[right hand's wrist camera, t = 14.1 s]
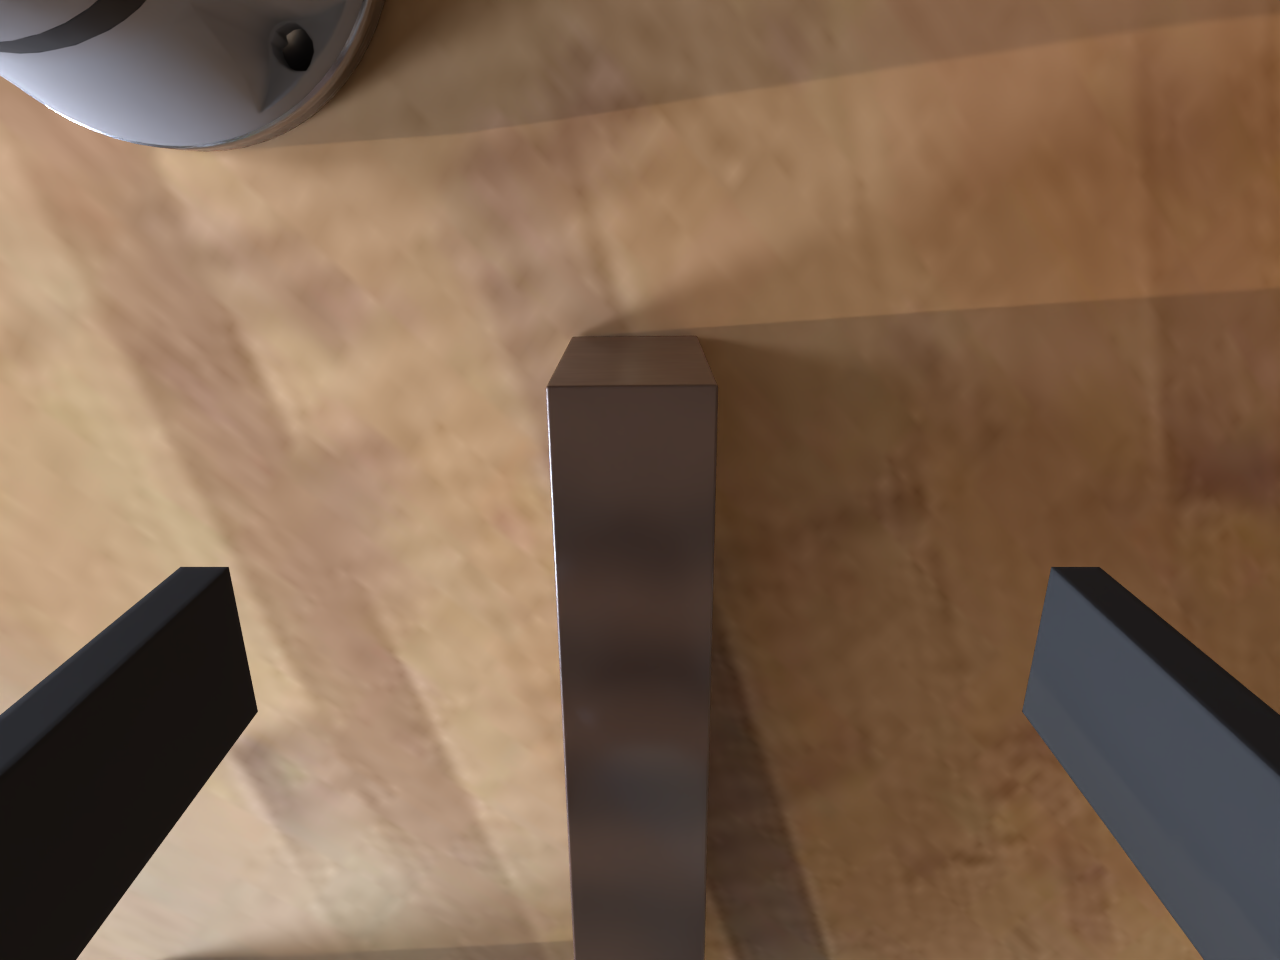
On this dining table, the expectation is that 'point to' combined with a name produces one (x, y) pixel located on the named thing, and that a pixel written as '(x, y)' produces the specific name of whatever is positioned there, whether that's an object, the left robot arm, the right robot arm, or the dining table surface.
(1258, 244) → the dining table surface
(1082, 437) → the dining table surface
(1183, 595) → the dining table surface
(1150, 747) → the right robot arm
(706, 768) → the walnut beam
